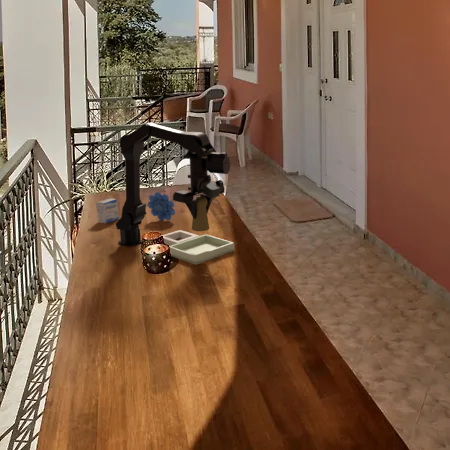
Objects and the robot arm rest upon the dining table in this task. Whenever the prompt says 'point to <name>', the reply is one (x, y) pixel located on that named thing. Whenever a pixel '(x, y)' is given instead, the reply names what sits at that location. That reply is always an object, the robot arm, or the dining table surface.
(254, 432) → the dining table surface
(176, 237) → the socket block
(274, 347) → the dining table surface
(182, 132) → the robot arm
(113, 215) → the medicine box
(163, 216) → the blue bumpy cluster
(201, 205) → the cork
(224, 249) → the parts tray
